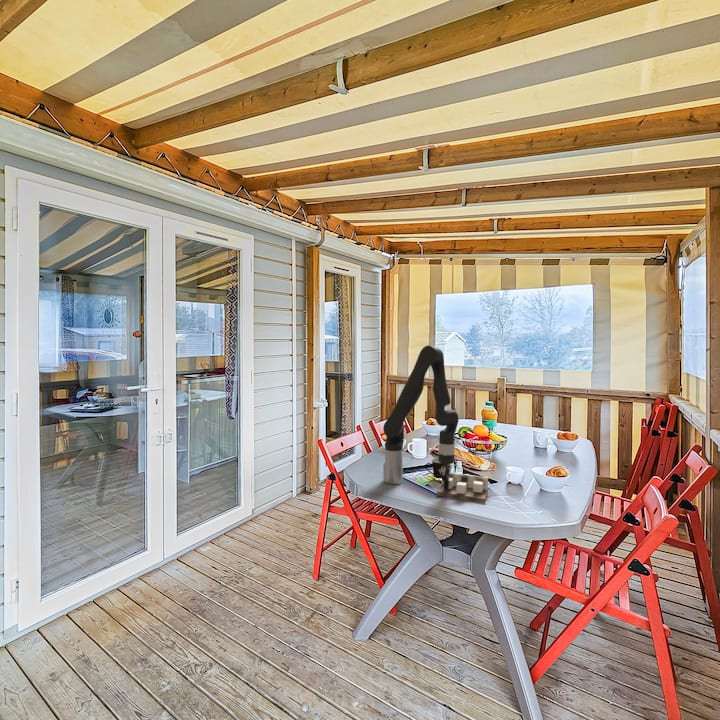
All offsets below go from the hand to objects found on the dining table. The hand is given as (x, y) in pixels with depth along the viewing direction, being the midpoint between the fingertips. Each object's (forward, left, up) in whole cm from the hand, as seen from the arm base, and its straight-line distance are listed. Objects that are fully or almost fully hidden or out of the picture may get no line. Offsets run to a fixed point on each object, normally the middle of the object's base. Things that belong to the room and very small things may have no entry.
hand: (446, 487), depth 198 cm
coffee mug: (-9, +20, -4) cm, 23 cm away
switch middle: (+7, 0, -1) cm, 7 cm away
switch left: (0, +4, -1) cm, 4 cm away
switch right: (+14, +5, -1) cm, 15 cm away
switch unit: (+7, +3, -4) cm, 9 cm away
